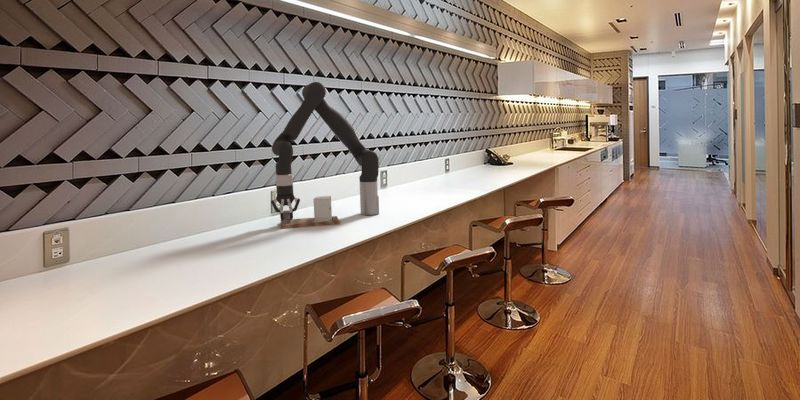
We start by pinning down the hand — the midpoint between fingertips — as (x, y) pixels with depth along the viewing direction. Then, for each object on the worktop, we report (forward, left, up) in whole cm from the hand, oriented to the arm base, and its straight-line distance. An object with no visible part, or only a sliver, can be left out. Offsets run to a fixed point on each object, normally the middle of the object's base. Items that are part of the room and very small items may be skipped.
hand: (286, 220), depth 208 cm
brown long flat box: (-11, 0, -2) cm, 11 cm away
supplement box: (-17, 0, -3) cm, 17 cm away
